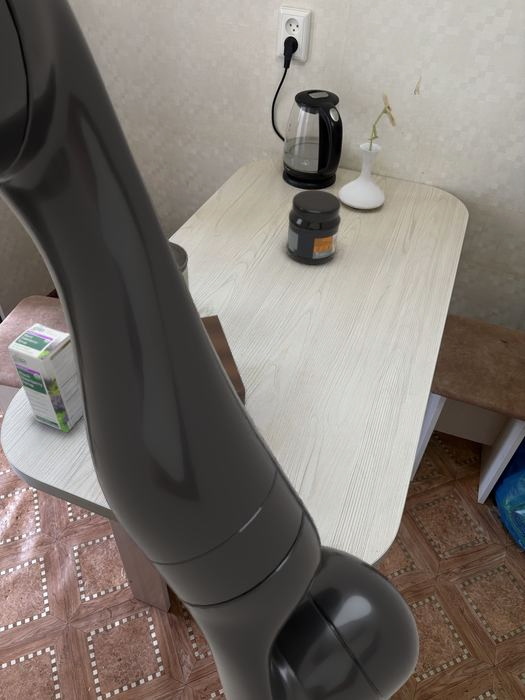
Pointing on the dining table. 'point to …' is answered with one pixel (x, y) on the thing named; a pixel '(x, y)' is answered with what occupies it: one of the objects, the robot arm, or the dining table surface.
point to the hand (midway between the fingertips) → (219, 497)
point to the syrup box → (48, 375)
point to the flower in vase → (367, 173)
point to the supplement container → (313, 226)
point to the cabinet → (224, 353)
